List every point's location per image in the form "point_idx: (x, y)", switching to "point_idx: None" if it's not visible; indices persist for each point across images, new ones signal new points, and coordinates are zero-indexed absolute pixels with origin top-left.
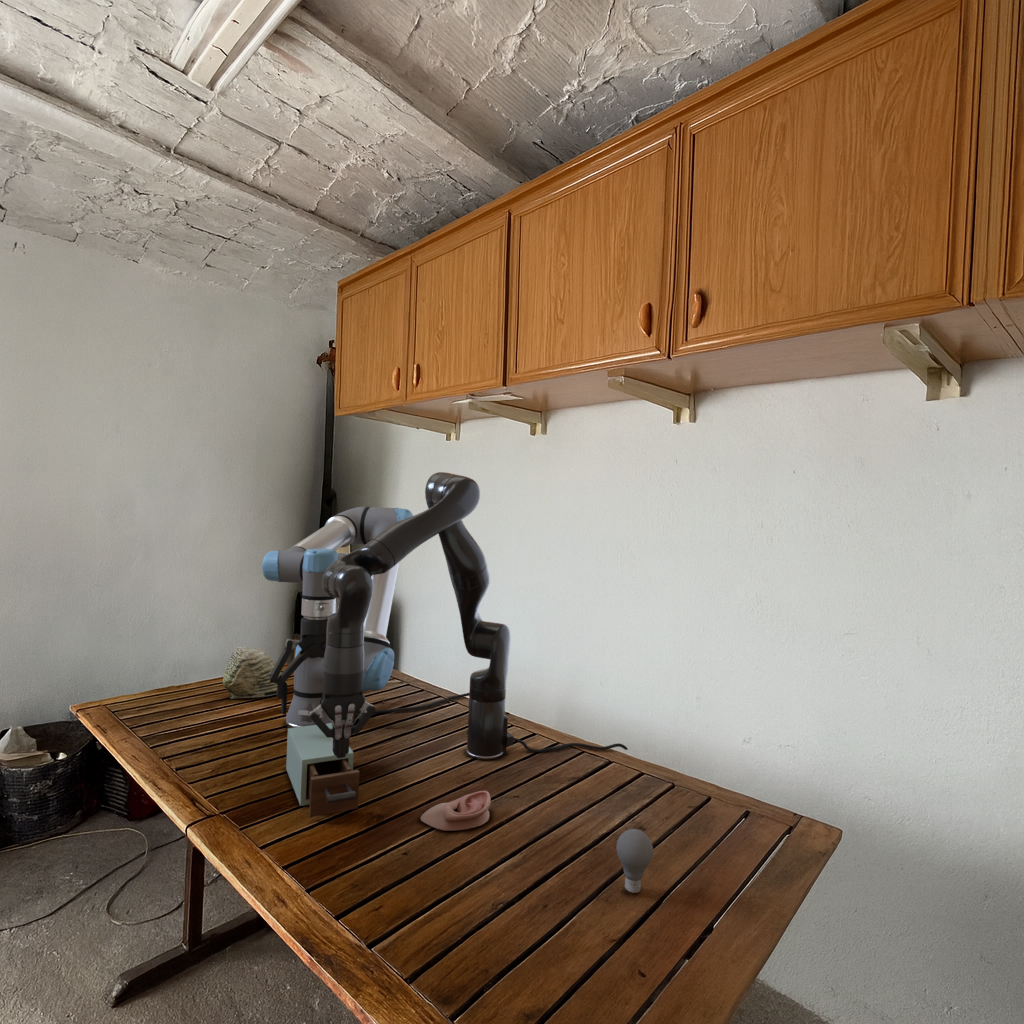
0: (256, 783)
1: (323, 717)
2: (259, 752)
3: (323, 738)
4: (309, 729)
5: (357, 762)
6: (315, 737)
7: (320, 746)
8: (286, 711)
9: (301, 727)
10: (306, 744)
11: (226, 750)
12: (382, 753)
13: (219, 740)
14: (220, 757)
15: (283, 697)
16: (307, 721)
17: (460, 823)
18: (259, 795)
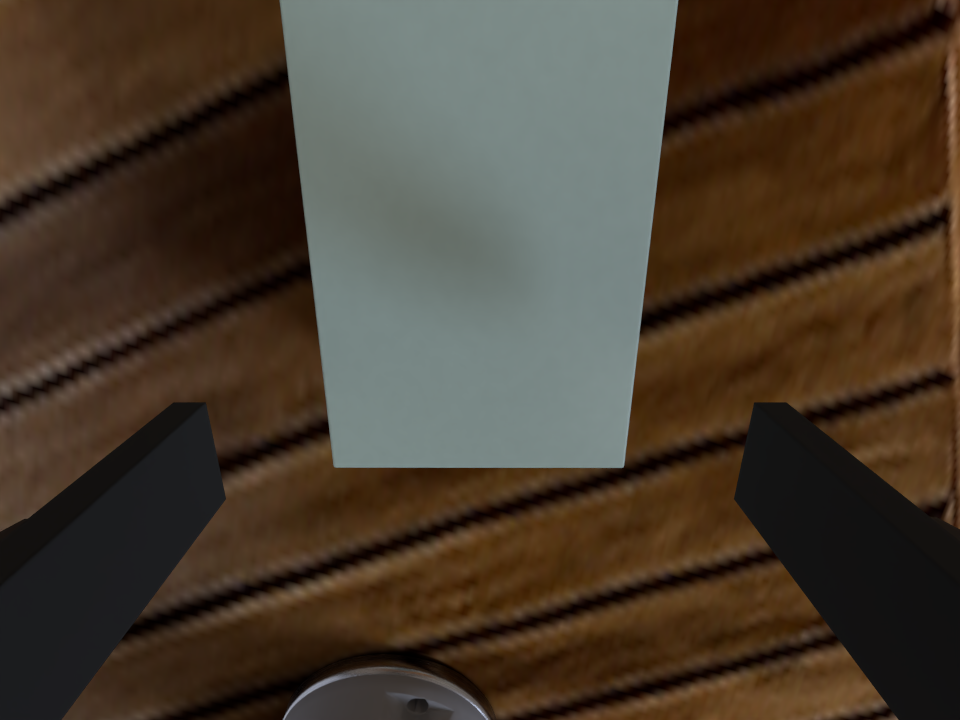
0: (723, 276)
1: (360, 710)
2: (636, 553)
3: (445, 207)
4: (503, 405)
5: (272, 328)
6: (494, 249)
7: (496, 41)
8: (766, 413)
9: (542, 455)
10: (584, 132)
11: (739, 604)
12: (149, 381)
13: (737, 685)
14: (776, 556)
15: (910, 502)
16: (427, 708)
17: None
18: (746, 145)
